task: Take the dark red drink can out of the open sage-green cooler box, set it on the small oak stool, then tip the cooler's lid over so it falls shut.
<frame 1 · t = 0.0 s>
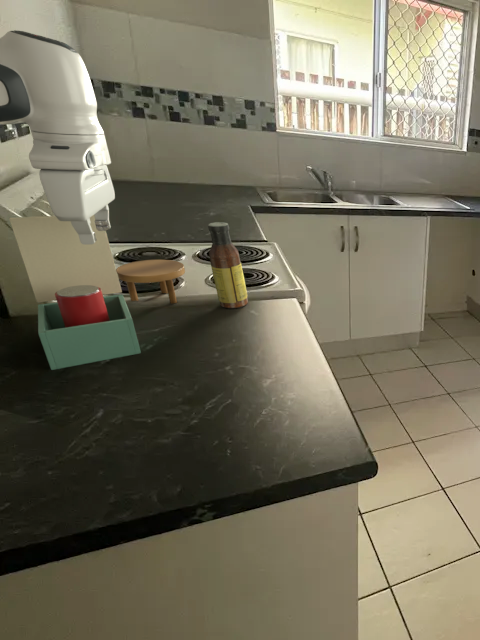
hand: (97, 236, 82), 22 cm above the worktop, tool pointing down, fingers open, 8 cm apart
stool: (158, 299, 114), on the worktop
sauce bottle: (233, 305, 116), on the worktop
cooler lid: (69, 257, 90), point 16 cm above the worktop, hinge at 98.0°
cooler: (95, 349, 91), on the worktop
can: (94, 345, 91), point 1 cm above the worktop, touching cooler
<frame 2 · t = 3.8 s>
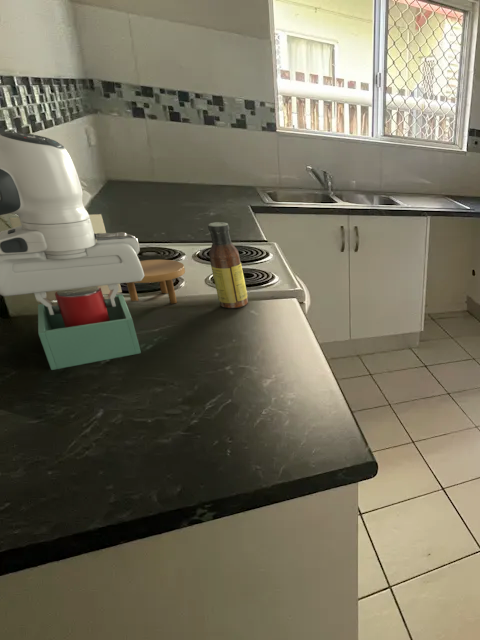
hand: (83, 309, 87), 8 cm above the worktop, tool pointing down, fingers closed on can, 6 cm apart
can: (94, 345, 91), point 1 cm above the worktop, touching cooler, gripper
everything else where it was.
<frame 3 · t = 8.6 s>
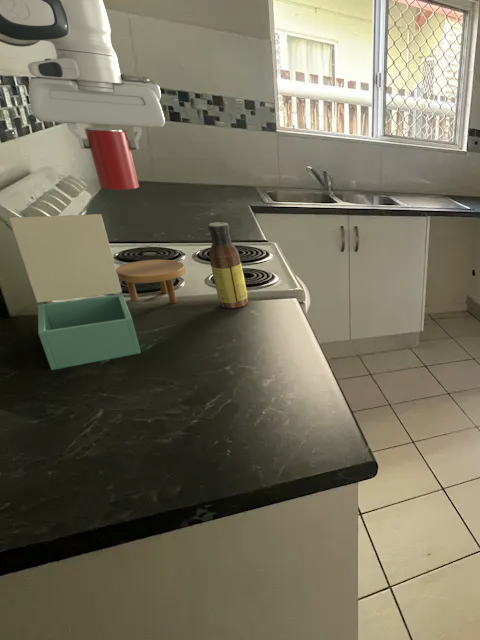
hand: (110, 149, 96), 34 cm above the worktop, tool pointing down, fingers closed on can, 6 cm apart
can: (120, 186, 99), point 27 cm above the worktop, touching gripper
everything else where it was.
when the fingers open (15 cm above the worktop, at t = 13.7 s): can stays where it is, resting on stool.
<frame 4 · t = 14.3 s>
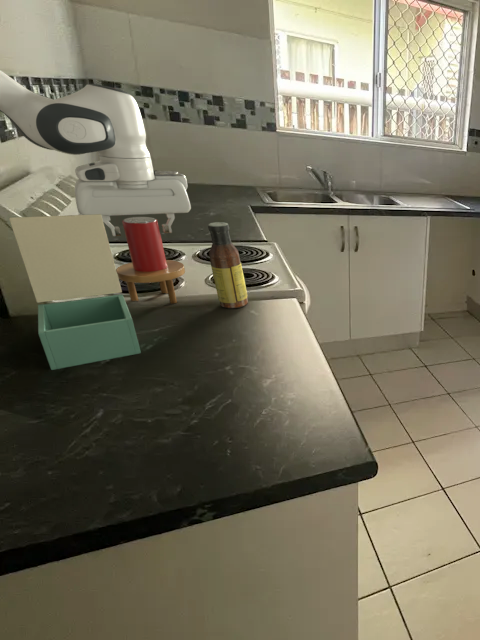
hand: (143, 233, 108), 16 cm above the worktop, tool pointing down, fingers open, 8 cm apart
can: (150, 267, 111), point 8 cm above the worktop, touching stool
everything else where it was.
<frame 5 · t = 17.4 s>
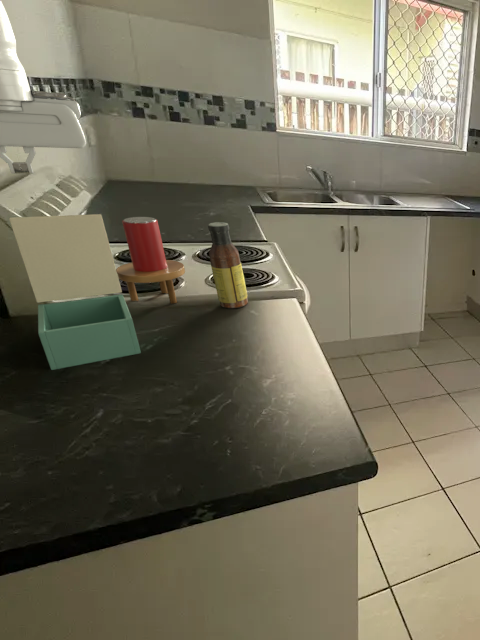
hand: (22, 173, 86), 30 cm above the worktop, tool pointing down, fingers closed
nothing on the worktop moved.
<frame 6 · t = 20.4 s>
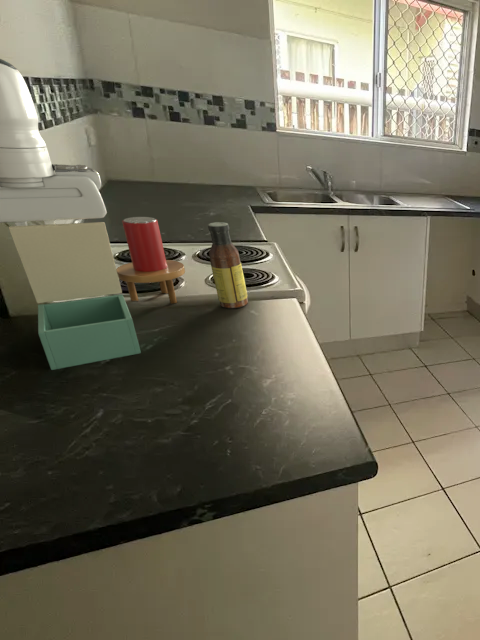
hand: (42, 245, 85), 19 cm above the worktop, tool pointing down, fingers closed
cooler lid: (70, 262, 88), point 16 cm above the worktop, hinge at 75.3°, touching gripper
everything else where it was.
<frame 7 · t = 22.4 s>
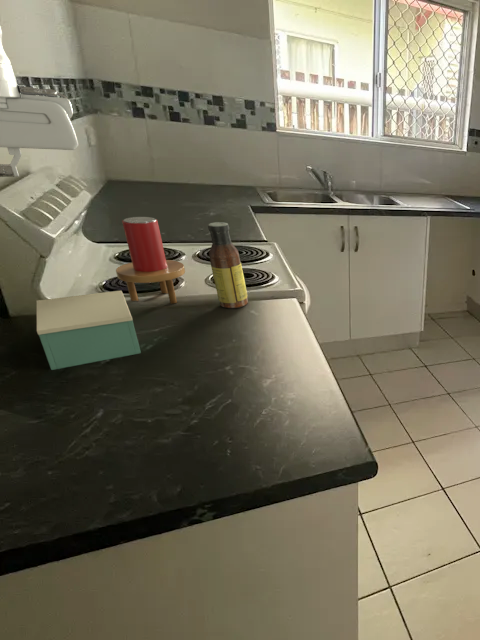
hand: (6, 176, 78), 31 cm above the worktop, tool pointing down, fingers closed
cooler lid: (84, 310, 87), point 8 cm above the worktop, hinge at -0.1°
everything else where it was.
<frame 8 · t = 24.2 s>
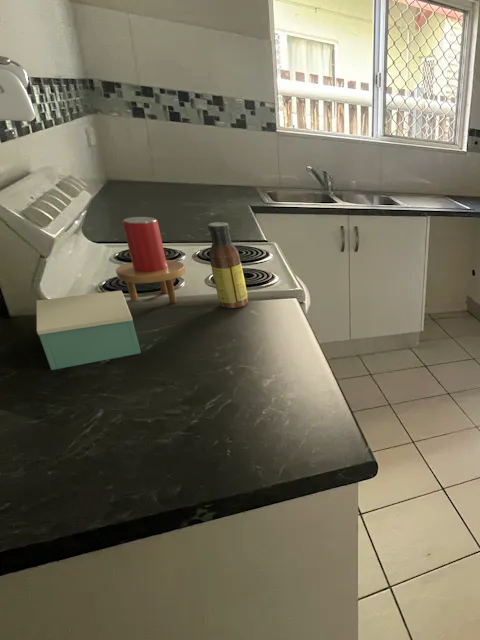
nothing on the worktop moved.
at the end: can inside the target area on the stool (0.0 cm from its centre), point 8.0 cm above the stool's base; can tilted 0°; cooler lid at +0° (first picture: +98°) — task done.
